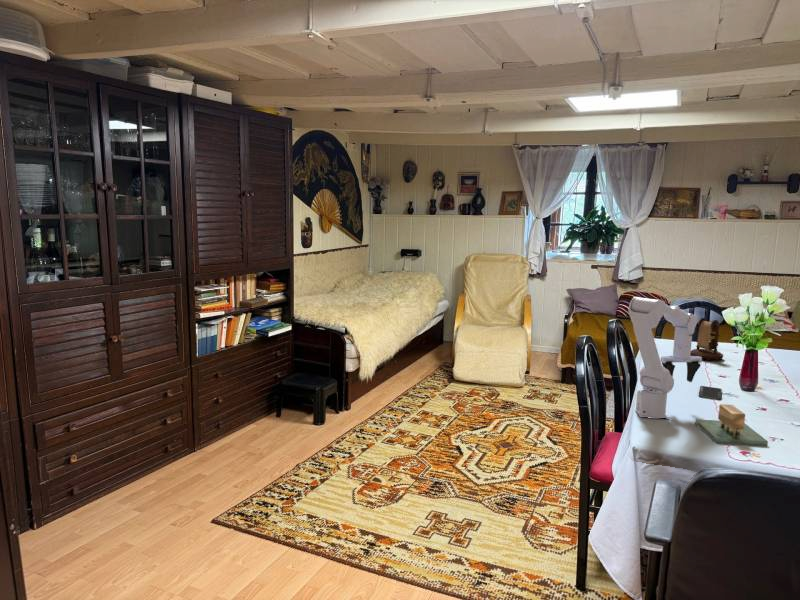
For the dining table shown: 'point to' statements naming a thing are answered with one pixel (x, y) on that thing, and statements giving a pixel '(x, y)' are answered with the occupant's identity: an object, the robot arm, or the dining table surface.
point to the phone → (710, 392)
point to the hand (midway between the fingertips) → (679, 381)
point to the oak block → (731, 416)
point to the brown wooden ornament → (707, 340)
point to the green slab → (730, 433)
